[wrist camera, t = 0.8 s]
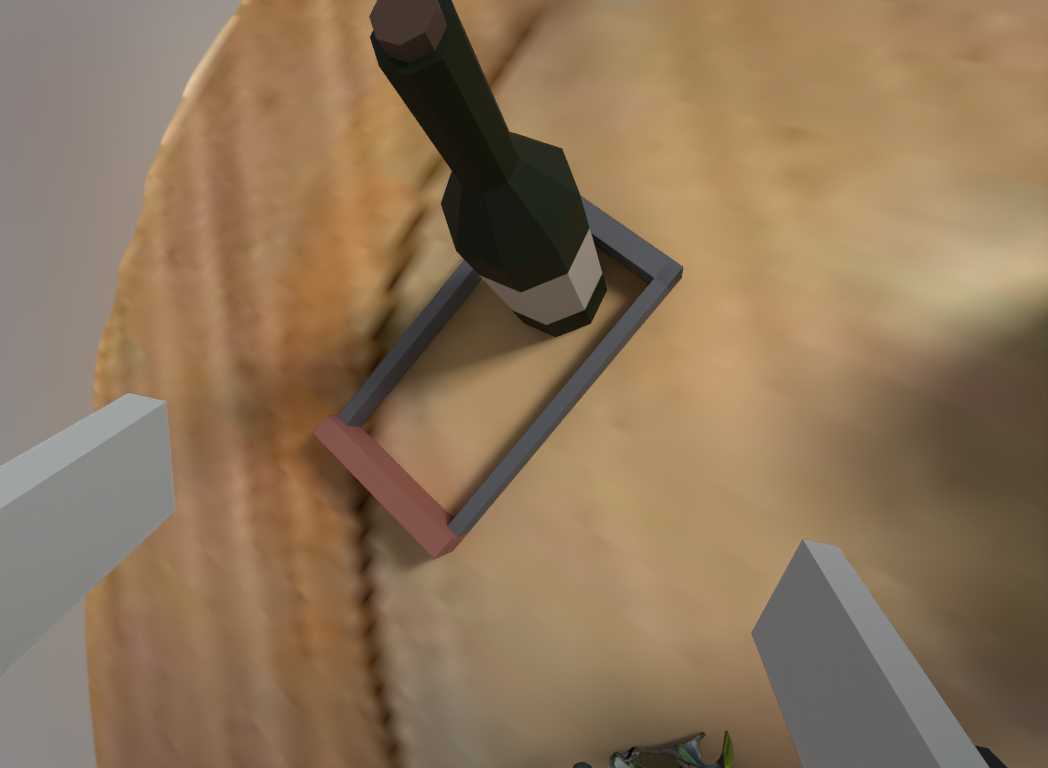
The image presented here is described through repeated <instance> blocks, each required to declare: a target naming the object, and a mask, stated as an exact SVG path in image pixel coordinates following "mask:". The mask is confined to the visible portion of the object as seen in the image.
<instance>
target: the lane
mask: <svg viewBox="0 0 1048 768" xmlns="http://www.w3.org/2000/svg"><path fill="white" fill-rule="evenodd" d="M581 199H582V203H583V206H584V210H585V213H586V217H587V221H588V224H589V228H590V231H591V235H592V238H593V242H594V245H596V246H597V247H598V248H600V249H601V250H602V251H604V252H605V253H607V254H608V255H609V256H611V257H612V258H614V259H615V260H616V261H618V262H619V263H621V264H622V265H623V266H625V267H626V268H628V269H629V270H630V271H632V272H633V273H634V274H636V275H637V276H639V277H640V278H641V279H643V280H644V281H646V282H647V283H648V284H649V285H648V286H647V288H646V289H645V290H644V291H643V292H642V294H641V295H640V296H639V297H638V298H637V300H636V301H635V302H634V303H633V304H632V306H631V307H630V308H629V309H628V310H627V312H626V313H625V314H624V315H623V316H622V318H621V319H620V320H619V321H618V322H617V324H616V325H615V326H614V327H613V328H612V330H611V331H610V332H609V333H608V334H607V336H606V337H605V338H604V339H603V340H602V342H601V343H600V344H599V345H598V346H597V348H596V349H595V350H594V351H593V352H592V354H591V355H590V356H589V357H588V358H587V360H586V361H585V362H584V363H583V364H582V366H581V367H580V368H579V369H578V370H577V372H576V373H575V374H574V375H573V376H572V378H571V379H570V380H569V381H568V382H567V384H566V385H565V386H564V387H563V388H562V390H561V391H560V392H559V393H558V394H557V396H556V397H555V398H554V399H553V400H552V402H551V403H550V404H549V405H548V406H547V408H546V409H545V410H544V411H543V412H542V414H541V415H540V416H539V417H538V418H537V420H536V421H535V422H534V423H533V424H532V426H531V427H530V428H529V429H528V430H527V432H526V433H525V434H524V435H523V436H522V438H521V439H520V440H519V441H518V442H517V443H516V445H515V446H514V447H513V448H512V449H511V451H510V452H509V453H508V454H507V455H506V457H505V458H504V459H503V460H502V461H501V463H500V464H499V465H498V466H497V467H496V469H495V470H494V471H493V472H492V473H491V475H490V476H489V477H488V478H487V479H486V481H485V482H484V483H483V484H482V485H481V487H480V488H479V489H478V490H477V491H476V493H475V494H474V495H473V496H472V497H471V499H470V500H469V501H468V502H467V503H466V505H465V506H464V507H463V508H462V509H461V511H460V512H459V513H458V514H457V515H456V517H455V518H454V519H453V518H452V517H451V516H450V515H449V514H448V513H447V512H446V511H445V510H444V509H443V508H442V507H441V506H440V505H439V504H438V503H437V502H436V501H435V500H434V499H433V498H432V497H431V496H430V495H429V494H428V493H427V492H426V491H425V490H424V489H423V488H422V487H421V486H420V485H419V484H418V483H417V482H416V481H415V480H414V479H413V478H412V477H411V476H410V475H409V474H408V473H407V472H406V471H405V470H404V469H403V468H402V467H401V466H400V465H399V464H398V463H397V462H396V461H395V460H394V459H393V458H392V457H391V456H390V455H389V454H388V453H387V452H386V451H384V450H383V449H382V448H381V447H380V446H379V445H378V444H377V443H376V442H375V441H374V440H373V439H372V438H371V437H370V436H369V435H368V434H367V433H366V432H365V431H364V430H363V429H362V428H361V426H362V425H363V424H364V423H365V421H366V420H367V419H368V418H369V416H370V415H371V414H372V413H373V412H374V410H375V409H376V408H377V407H378V405H379V404H380V403H381V402H382V401H383V399H384V398H385V397H386V396H387V394H388V393H389V392H390V391H391V390H392V388H393V387H394V386H395V385H396V383H397V382H398V381H399V380H400V379H401V377H402V376H403V375H404V374H405V372H406V371H407V370H408V369H409V368H410V366H411V365H412V364H413V363H414V361H415V360H416V359H417V358H418V357H419V355H420V354H421V353H422V352H423V350H424V349H425V348H426V347H427V346H428V344H429V343H430V342H431V341H432V339H433V338H434V337H435V336H436V334H437V333H438V332H439V331H440V330H441V328H442V327H443V326H444V325H445V323H446V322H447V321H448V320H449V319H450V317H451V316H452V315H453V314H454V312H455V311H456V310H457V309H458V308H459V306H460V305H461V304H462V303H463V301H464V300H465V299H466V298H467V297H468V295H469V294H470V293H471V292H472V290H473V289H474V288H475V287H476V286H477V284H478V283H479V282H480V281H481V279H482V278H481V277H480V276H479V275H478V274H477V272H476V271H475V270H474V269H473V268H472V267H471V266H470V265H469V264H468V263H467V262H466V261H465V260H464V261H463V262H462V264H461V265H460V266H459V267H458V268H457V270H456V271H455V272H454V273H453V275H452V276H451V277H450V278H449V280H448V281H447V282H446V283H445V284H444V286H443V287H442V288H441V289H440V291H439V292H438V293H437V294H436V295H435V297H434V298H433V299H432V300H431V302H430V303H429V304H428V305H427V307H426V308H425V309H424V310H423V311H422V313H421V314H420V315H419V316H418V318H417V319H416V320H415V321H414V323H413V324H412V325H411V326H410V327H409V329H408V330H407V331H406V332H405V334H404V335H403V336H402V337H401V339H400V340H399V341H398V342H397V343H396V345H395V346H394V347H393V348H392V350H391V351H390V352H389V353H388V354H387V356H386V357H385V358H384V359H383V361H382V362H381V363H380V364H379V366H378V367H377V368H376V369H375V370H374V372H373V373H372V374H371V375H370V377H369V378H368V379H367V380H366V382H365V383H364V384H363V385H362V386H361V388H360V389H359V390H358V391H357V393H356V394H355V395H354V396H353V398H352V399H351V400H350V401H349V402H348V404H347V405H346V406H345V407H344V409H343V410H342V411H341V412H340V413H339V415H338V416H331V415H327V416H326V417H325V418H324V419H323V421H322V422H321V423H320V424H319V426H318V427H317V428H316V429H315V430H314V432H313V434H314V435H315V436H316V437H317V438H318V439H319V440H320V441H321V442H322V443H323V444H324V445H325V446H326V447H327V448H328V449H329V450H330V451H331V452H332V453H333V455H334V456H335V457H336V458H337V459H338V460H339V461H340V462H341V463H342V464H343V465H344V466H345V467H346V468H347V469H348V470H349V471H350V472H351V473H352V474H353V475H354V476H355V477H356V478H357V479H358V480H359V481H360V483H361V484H362V485H363V486H364V487H365V488H366V489H367V490H368V491H369V492H370V493H371V494H372V495H373V496H374V497H375V498H376V499H377V500H378V501H379V502H380V503H381V504H382V505H383V506H384V507H385V508H386V509H387V510H388V512H389V513H390V514H391V515H392V516H393V517H394V518H395V519H396V520H397V521H398V522H399V523H400V524H401V525H402V526H403V527H404V528H405V529H406V530H407V531H408V532H409V533H410V534H411V535H412V536H413V537H414V538H415V539H416V541H417V542H418V543H419V544H420V545H421V546H422V547H423V548H424V549H425V550H426V551H427V552H428V553H429V554H430V555H431V556H432V557H433V558H434V559H436V558H438V557H440V556H442V555H445V554H447V553H449V552H452V551H453V550H454V549H455V548H456V547H457V546H458V544H459V543H460V542H461V541H462V540H463V538H464V537H465V536H466V535H467V534H468V532H469V531H470V530H471V529H472V528H473V526H474V525H475V524H476V523H477V522H478V520H479V519H480V518H481V517H482V516H483V514H484V513H485V512H486V511H487V510H488V508H489V507H490V506H491V505H492V504H493V503H494V501H495V500H496V499H497V498H498V497H499V495H500V494H501V493H502V492H503V491H504V489H505V488H506V487H507V486H508V485H509V483H510V482H511V481H512V480H513V479H514V477H515V476H516V475H517V474H518V473H519V471H520V470H521V469H522V468H523V467H524V465H525V464H526V463H527V462H528V461H529V459H530V458H531V457H532V456H533V455H534V454H535V452H536V451H537V450H538V449H539V448H540V446H541V445H542V444H543V443H544V442H545V440H546V439H547V438H548V437H549V436H550V434H551V433H552V432H553V431H554V430H555V428H556V427H557V426H558V425H559V424H560V422H561V421H562V420H563V419H564V418H565V416H566V415H567V414H568V413H569V412H570V411H571V409H572V408H573V407H574V406H575V405H576V403H577V402H578V401H579V400H580V399H581V397H582V396H583V395H584V394H585V393H586V391H587V390H588V389H589V388H590V387H591V385H592V384H593V383H594V382H595V381H596V379H597V378H598V377H599V376H600V375H601V373H602V372H603V371H604V370H605V369H606V368H607V366H608V365H609V364H610V363H611V362H612V360H613V359H614V358H615V357H616V356H617V354H618V353H619V352H620V351H621V350H622V348H623V347H624V346H625V345H626V344H627V342H628V341H629V340H630V339H631V338H632V336H633V335H634V334H635V333H636V332H637V330H638V329H639V328H640V327H641V326H642V324H643V323H644V322H645V321H646V320H647V319H648V317H649V316H650V315H651V314H652V313H653V311H654V310H655V309H656V308H657V307H658V305H659V304H660V303H661V302H662V301H663V299H664V298H665V297H666V296H667V295H668V293H669V292H670V291H671V290H672V289H673V287H674V286H675V285H676V284H677V283H678V281H679V280H680V279H681V278H682V273H683V266H681V265H680V264H678V263H677V262H676V261H674V260H673V259H671V258H670V257H668V256H667V255H665V254H664V253H663V252H661V251H660V250H658V249H657V248H655V247H654V246H652V245H651V244H650V243H648V242H647V241H645V240H644V239H642V238H641V237H639V236H638V235H637V234H635V233H634V232H632V231H631V230H629V229H628V228H626V227H625V226H624V225H622V224H621V223H619V222H618V221H616V220H615V219H613V218H612V217H611V216H609V215H608V214H606V213H605V212H603V211H602V210H600V209H599V208H598V207H596V206H595V205H593V204H592V203H590V202H589V201H587V200H586V199H585V198H583V197H582V196H581Z"/></svg>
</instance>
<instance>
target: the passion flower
mask: <svg viewBox="0 0 1048 768" xmlns="http://www.w3.org/2000/svg"><path fill="white" fill-rule="evenodd" d="M704 736H705V733H703V732H702V733H701V734H700V735H697V736H696V737H695V738H694V739H693V740H691V741H689V742H688V743H686V744H680V745H674V747H673V748H671V749H653V748H646V747H643V746H641V747H632V748H631V749H630V750H629V751H628V752H626V754H625V755H621V754H619V753H618V752H615V753H614V754H613V755H612V757H611V758H610V766H611V768H644V767H643V766H642V765H641V762H640V757H639V756H640V753H648V754H653V755H657V754H660V755H671V756H673V757H674V759H675V760H676V762H677V763H678V764H679V766H680V768H689V764H691V765H693V766H696V767H698V768H731V766H732V762H733V748H732V742H731V739H730V737H729V734H728V731H725V736H724V742H723V750H722V754H721V756H720V759H719V760H718V761H717V762H716V763H715V764H714V765H711V766H709V765H705V764H704V763H703V762H702V753H701V751H700V749H699V741H700V739H702V738H703V737H704ZM573 768H592V767H591V766H590V765H589V764H587V763H585V762H579V763H576V764H575V765H574V766H573Z"/></svg>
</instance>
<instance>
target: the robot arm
mask: <svg viewBox="0 0 1048 768" xmlns="http://www.w3.org/2000/svg"><path fill="white" fill-rule="evenodd" d="M174 512H175V499H174V487H173V474H172V462H171V450H170V437H169V425H168V413H167V401H163V400H158V399H153V398H149V397H144V396H139V395H135V394H130V393H128V394H126V395H124V396H122V397H121V398H119V399H117V400H115V401H114V402H112V403H110V404H108V405H107V406H105V407H103V408H101V409H100V410H98V411H96V412H94V413H93V414H91V415H89V416H87V417H86V418H84V419H82V420H80V421H79V422H77V423H75V424H73V425H72V426H70V427H68V428H66V429H65V430H63V431H61V432H59V433H57V434H56V435H54V436H52V437H50V438H49V439H47V440H45V441H43V442H42V443H40V444H38V445H36V446H35V447H33V448H31V449H30V450H28V451H26V452H24V453H23V454H21V455H19V456H17V457H16V458H14V459H12V460H10V461H8V462H7V463H5V464H3V465H1V466H0V675H2V674H3V673H4V672H5V671H6V670H7V669H8V668H9V667H10V666H11V665H12V664H13V663H14V662H15V661H16V660H17V659H18V658H20V657H21V656H22V655H23V654H24V653H25V652H26V651H27V650H28V649H29V648H30V647H31V646H32V645H33V644H34V643H35V642H36V641H38V640H39V639H40V638H41V637H42V636H43V635H44V634H45V633H46V632H47V631H48V630H49V629H50V628H51V627H52V626H54V625H55V624H56V623H57V622H58V621H59V620H60V619H61V618H62V617H63V616H64V615H65V614H66V613H67V612H68V611H69V610H71V609H72V608H73V607H74V606H75V605H76V604H77V603H78V602H79V601H80V600H81V599H82V598H83V597H84V596H85V595H86V594H88V593H89V592H90V591H91V590H92V589H93V588H94V587H95V586H96V585H97V584H98V583H99V582H100V581H101V580H102V579H103V578H105V577H106V576H107V575H108V574H109V573H110V572H111V571H112V570H113V569H114V568H115V567H116V566H117V565H118V564H119V563H120V562H122V561H123V560H124V559H125V558H126V557H127V556H128V555H129V554H130V553H131V552H132V551H133V550H134V549H135V548H136V547H137V546H139V545H140V544H141V543H142V542H143V541H144V540H145V539H146V538H147V537H148V536H149V535H150V534H151V533H152V532H153V531H154V530H156V529H157V528H158V527H159V526H160V525H161V524H162V523H163V522H164V521H165V520H166V519H167V518H168V517H169V516H170V515H171V514H173V513H174ZM752 636H753V638H754V641H755V644H756V646H757V649H758V651H759V654H760V657H761V659H762V662H763V664H764V667H765V670H766V672H767V675H768V678H769V680H770V683H771V685H772V688H773V691H774V693H775V696H776V698H777V701H778V704H779V706H780V709H781V711H782V714H783V717H784V719H785V722H786V724H787V727H788V730H789V732H790V735H791V738H792V740H793V743H794V745H795V748H796V751H797V753H798V756H799V758H800V761H801V764H802V766H803V768H1007V767H1006V766H1005V765H1004V764H1003V763H1002V762H1001V761H1000V760H999V759H998V758H997V757H996V756H995V755H994V754H993V753H992V752H991V751H990V750H989V749H988V748H984V747H979V746H974V744H973V743H972V741H971V740H970V738H969V737H968V736H967V734H966V733H965V731H964V730H963V728H962V727H961V725H960V724H959V722H958V721H957V719H956V718H955V717H954V715H953V714H952V712H951V711H950V709H949V708H948V706H947V705H946V703H945V702H944V700H943V699H942V697H941V696H940V695H939V693H938V692H937V690H936V689H935V687H934V686H933V684H932V683H931V681H930V680H929V678H928V677H927V675H926V674H925V673H924V671H923V670H922V668H921V667H920V665H919V664H918V662H917V661H916V659H915V658H914V656H913V655H912V654H911V652H910V651H909V649H908V648H907V646H906V645H905V643H904V642H903V640H902V639H901V637H900V636H899V634H898V633H897V632H896V630H895V629H894V627H893V626H892V624H891V623H890V621H889V620H888V618H887V617H886V615H885V614H884V612H883V611H882V610H881V608H880V607H879V605H878V604H877V602H876V601H875V599H874V598H873V596H872V595H871V593H870V592H869V591H868V589H867V588H866V586H865V585H864V583H863V582H862V580H861V579H860V577H859V576H858V574H857V573H856V571H855V570H854V569H853V567H852V566H851V564H850V563H849V561H848V560H847V558H846V557H845V555H844V554H843V552H842V551H841V549H840V548H839V547H837V546H832V545H828V544H823V543H818V542H814V541H809V540H805V539H802V541H801V543H800V545H799V547H798V549H797V550H796V552H795V554H794V556H793V558H792V560H791V561H790V563H789V565H788V567H787V569H786V570H785V572H784V574H783V576H782V578H781V580H780V581H779V583H778V585H777V587H776V589H775V591H774V592H773V594H772V596H771V598H770V600H769V602H768V603H767V605H766V607H765V609H764V611H763V612H762V614H761V616H760V618H759V620H758V622H757V623H756V625H755V627H754V629H753V631H752Z"/></svg>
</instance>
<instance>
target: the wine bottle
mask: <svg viewBox="0 0 1048 768" xmlns="http://www.w3.org/2000/svg"><path fill="white" fill-rule="evenodd" d="M369 17H370V20H371V23H372V26H373V32H372V34H371V36H370V39H371V42H372V45H373V48H374V51H375V55H376V58H377V61H378V64H379V67H380V68H381V70H382V71H383V72H384V74H385V75H386V77H387V78H388V80H389V81H390V82H391V84H392V85H393V87H394V88H395V90H396V91H397V93H398V94H399V95H400V97H401V98H402V100H403V101H404V103H405V104H406V105H407V107H408V108H409V110H410V111H411V113H412V114H413V116H414V117H415V118H416V120H417V121H418V123H419V124H420V126H421V127H422V128H423V130H424V131H425V133H426V134H427V136H428V137H429V138H430V140H431V141H432V143H433V144H434V146H435V147H436V149H437V150H438V151H439V153H440V154H441V156H442V157H443V159H444V160H445V161H446V163H447V164H448V166H449V167H450V169H451V170H452V172H451V175H450V178H449V181H448V184H447V187H446V190H445V193H444V196H443V199H442V202H441V206H442V209H443V212H444V215H445V218H446V221H447V224H448V227H449V230H450V234H451V237H452V240H453V243H454V246H455V249H456V251H457V252H458V253H459V254H460V255H461V257H462V258H463V259H464V260H465V261H466V262H467V263H468V264H469V265H470V266H471V267H472V268H473V269H474V270H475V271H476V272H477V274H478V275H479V276H480V277H481V278H482V279H483V280H484V281H485V282H486V283H487V284H488V285H489V286H490V287H491V288H492V290H493V291H494V292H495V293H496V294H497V295H498V296H499V297H500V298H501V299H502V300H503V301H504V302H505V303H506V304H507V305H508V307H509V308H510V309H511V310H512V311H513V312H514V313H515V314H516V315H517V316H518V317H519V318H520V319H521V320H522V321H523V323H525V324H527V325H530V326H532V327H534V328H537V329H539V330H541V331H543V332H546V333H548V334H550V335H553V336H555V337H557V336H560V335H562V334H565V333H568V332H570V331H573V330H575V329H578V328H580V327H583V326H586V325H588V324H591V322H592V320H593V318H594V316H595V314H596V312H597V310H598V308H599V305H600V303H601V301H602V299H603V297H604V295H605V293H606V291H607V288H606V285H605V281H604V278H603V274H602V270H601V267H600V263H599V260H598V256H597V253H596V249H595V245H594V242H593V238H592V235H591V231H590V228H589V224H588V221H587V217H586V213H585V210H584V206H583V203H582V199H581V196H580V193H579V191H578V188H577V185H576V183H575V180H574V178H573V175H572V173H571V170H570V167H569V165H568V162H567V160H566V157H565V155H564V152H563V149H562V148H559V147H556V146H553V145H550V144H547V143H544V142H540V141H537V140H534V139H531V138H528V137H525V136H522V135H519V134H516V133H512V132H509V130H508V128H507V125H506V123H505V121H504V119H503V116H502V114H501V112H500V109H499V107H498V105H497V103H496V100H495V98H494V96H493V94H492V91H491V89H490V87H489V85H488V82H487V80H486V78H485V75H484V73H483V71H482V69H481V66H480V64H479V62H478V60H477V57H476V55H475V53H474V51H473V48H472V46H471V44H470V41H469V39H468V37H467V35H466V32H465V30H464V28H463V26H462V23H461V21H460V19H459V17H458V14H457V12H456V10H455V7H454V5H453V3H452V1H451V0H377V2H376V4H375V6H374V8H373V10H372V12H371V14H370V16H369Z"/></svg>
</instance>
